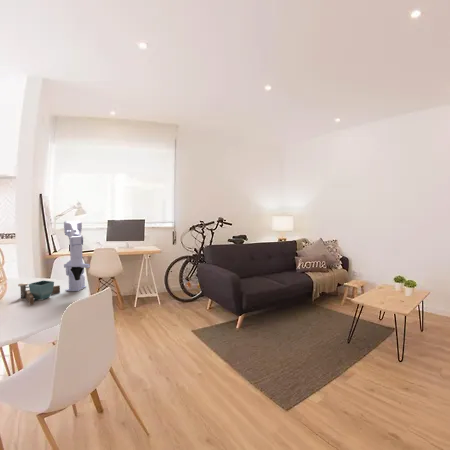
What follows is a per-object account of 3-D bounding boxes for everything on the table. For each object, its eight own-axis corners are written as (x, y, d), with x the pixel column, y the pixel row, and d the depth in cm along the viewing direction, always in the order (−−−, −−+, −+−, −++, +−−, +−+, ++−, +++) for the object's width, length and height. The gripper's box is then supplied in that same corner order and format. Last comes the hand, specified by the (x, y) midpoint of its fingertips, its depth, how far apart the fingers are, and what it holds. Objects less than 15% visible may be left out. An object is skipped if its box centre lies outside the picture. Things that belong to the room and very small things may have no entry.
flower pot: (55, 296, 155) (54, 281, 155) (40, 301, 147) (40, 285, 146) (43, 295, 158) (42, 280, 157) (28, 300, 149) (28, 284, 149)
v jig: (34, 291, 165) (34, 278, 165) (61, 291, 165) (60, 279, 164) (2, 304, 142) (1, 289, 142) (32, 305, 142) (31, 290, 141)
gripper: (60, 257, 152) (60, 281, 153) (85, 258, 151) (85, 281, 152) (68, 255, 159) (68, 278, 160) (92, 255, 158) (92, 278, 159)
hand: (77, 279), depth 156 cm, fingers closed
